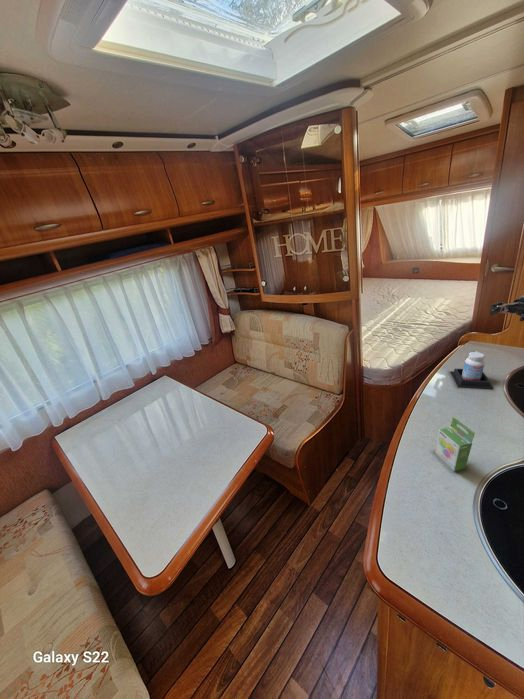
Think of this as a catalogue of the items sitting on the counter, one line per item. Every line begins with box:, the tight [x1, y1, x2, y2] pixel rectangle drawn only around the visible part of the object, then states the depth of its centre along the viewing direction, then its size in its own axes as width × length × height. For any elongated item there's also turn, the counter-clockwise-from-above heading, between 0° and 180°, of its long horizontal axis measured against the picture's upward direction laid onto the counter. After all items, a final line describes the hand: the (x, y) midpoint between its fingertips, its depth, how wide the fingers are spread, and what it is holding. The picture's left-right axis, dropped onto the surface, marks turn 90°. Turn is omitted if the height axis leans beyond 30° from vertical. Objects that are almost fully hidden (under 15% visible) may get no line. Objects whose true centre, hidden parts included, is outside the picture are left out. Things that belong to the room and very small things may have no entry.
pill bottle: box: [462, 351, 486, 381], centre depth 105 cm, size 6×6×11 cm
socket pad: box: [449, 368, 494, 390], centre depth 107 cm, size 11×11×3 cm
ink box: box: [435, 416, 476, 473], centre depth 75 cm, size 7×4×13 cm, turn 10°
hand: (506, 315), depth 94 cm, fingers open, 8 cm apart
